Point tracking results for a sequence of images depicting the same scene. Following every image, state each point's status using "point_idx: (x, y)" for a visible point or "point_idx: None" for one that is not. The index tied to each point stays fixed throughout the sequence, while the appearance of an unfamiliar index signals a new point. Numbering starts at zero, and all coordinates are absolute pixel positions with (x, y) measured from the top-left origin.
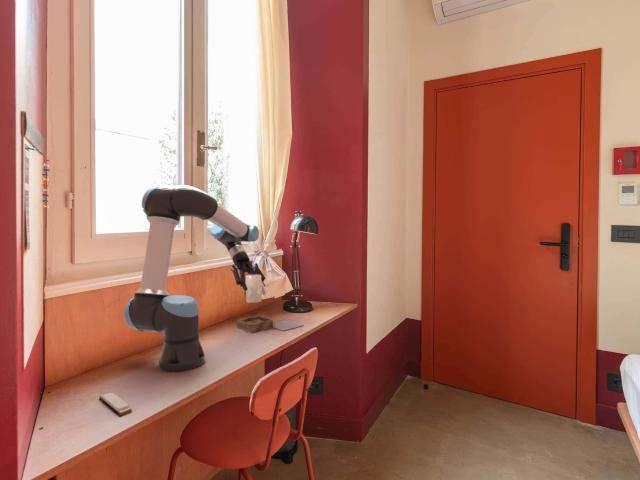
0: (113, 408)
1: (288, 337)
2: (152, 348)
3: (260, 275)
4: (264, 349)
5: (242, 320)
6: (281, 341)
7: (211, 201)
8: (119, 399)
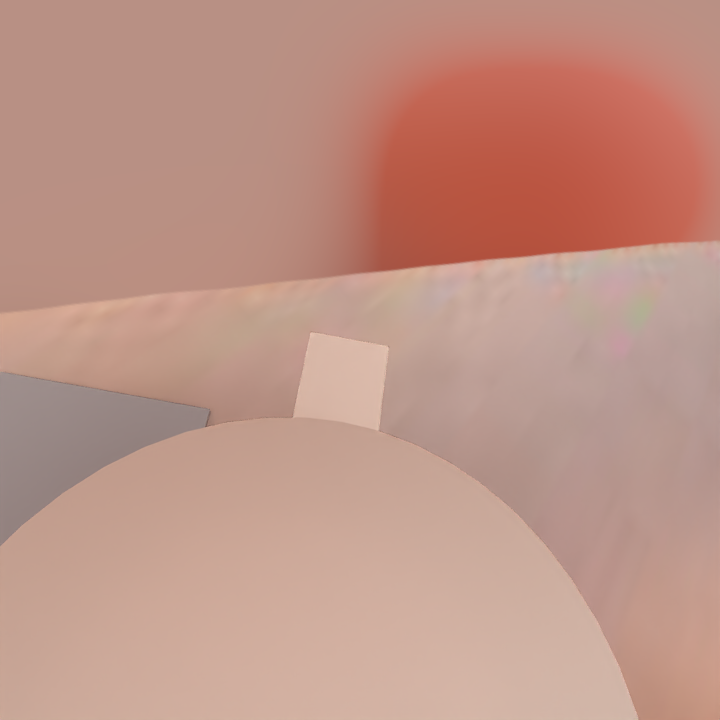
0: None
1: (294, 307)
2: None
3: (142, 461)
4: (513, 290)
5: None
6: (373, 297)
7: None
8: None
